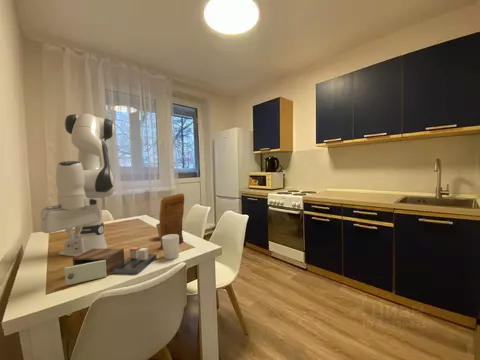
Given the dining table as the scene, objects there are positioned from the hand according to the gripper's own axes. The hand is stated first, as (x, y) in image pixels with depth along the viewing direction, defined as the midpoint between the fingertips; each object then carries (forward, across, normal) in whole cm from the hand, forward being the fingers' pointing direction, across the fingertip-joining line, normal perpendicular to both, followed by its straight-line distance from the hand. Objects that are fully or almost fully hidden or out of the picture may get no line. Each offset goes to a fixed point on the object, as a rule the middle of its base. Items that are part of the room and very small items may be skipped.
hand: (74, 238), depth 88 cm
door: (+16, 0, -5) cm, 17 cm away
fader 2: (+14, +19, -14) cm, 28 cm away
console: (+16, +17, -12) cm, 27 cm away
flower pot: (+16, +53, +2) cm, 56 cm away
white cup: (+16, +30, -22) cm, 40 cm away
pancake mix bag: (+16, +45, -11) cm, 49 cm away
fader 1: (+14, +20, -9) cm, 26 cm away
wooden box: (+16, +10, 0) cm, 19 cm away
